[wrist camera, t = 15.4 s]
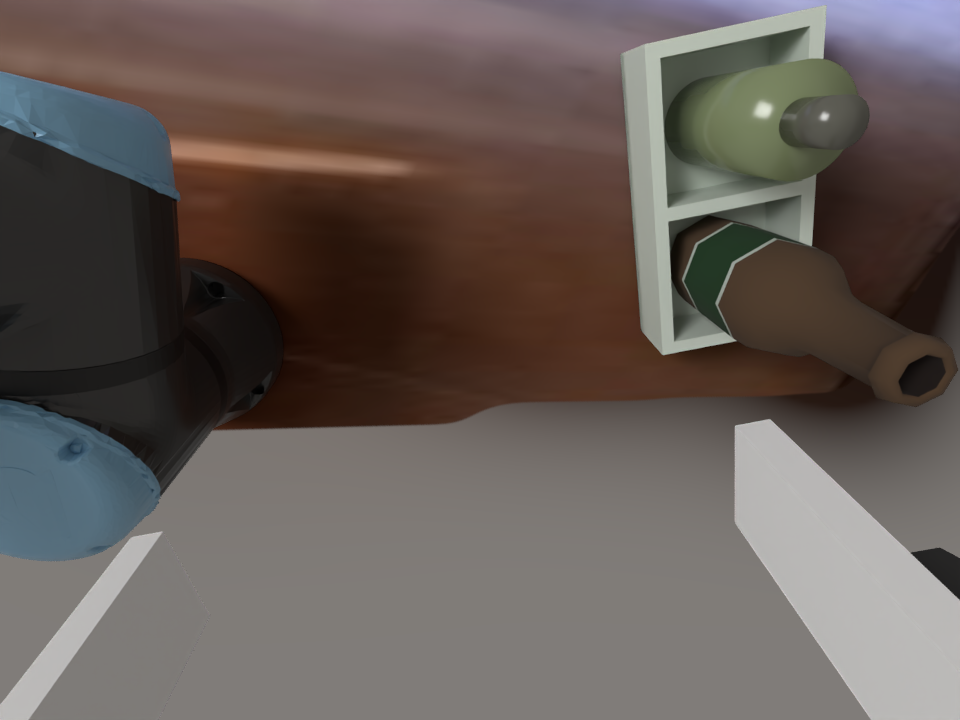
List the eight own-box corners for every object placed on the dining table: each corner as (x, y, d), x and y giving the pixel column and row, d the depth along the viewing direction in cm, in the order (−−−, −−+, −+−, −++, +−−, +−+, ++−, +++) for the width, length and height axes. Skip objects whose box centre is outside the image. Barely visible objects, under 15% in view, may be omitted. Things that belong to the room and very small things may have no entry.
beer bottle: (769, 246, 47) (1046, 357, 25) (706, 316, 49) (907, 473, 27) (706, 193, 45) (946, 263, 23) (643, 269, 47) (806, 398, 25)
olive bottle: (666, 172, 44) (778, 199, 29) (662, 86, 41) (782, 66, 26) (745, 156, 44) (899, 174, 28) (745, 68, 41) (915, 37, 26)
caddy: (641, 330, 50) (662, 355, 45) (620, 54, 41) (644, 44, 36) (769, 305, 50) (806, 327, 45) (778, 20, 41) (826, 4, 35)
